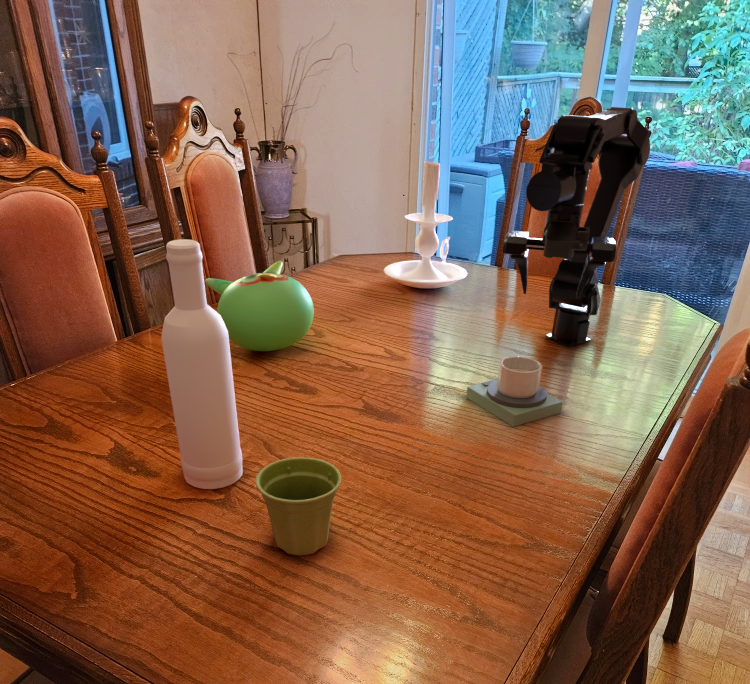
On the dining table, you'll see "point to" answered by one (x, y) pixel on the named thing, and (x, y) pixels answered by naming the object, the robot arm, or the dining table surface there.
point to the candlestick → (427, 242)
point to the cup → (519, 377)
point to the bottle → (200, 375)
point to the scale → (513, 403)
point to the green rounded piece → (264, 309)
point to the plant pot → (299, 501)
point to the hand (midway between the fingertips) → (550, 295)
